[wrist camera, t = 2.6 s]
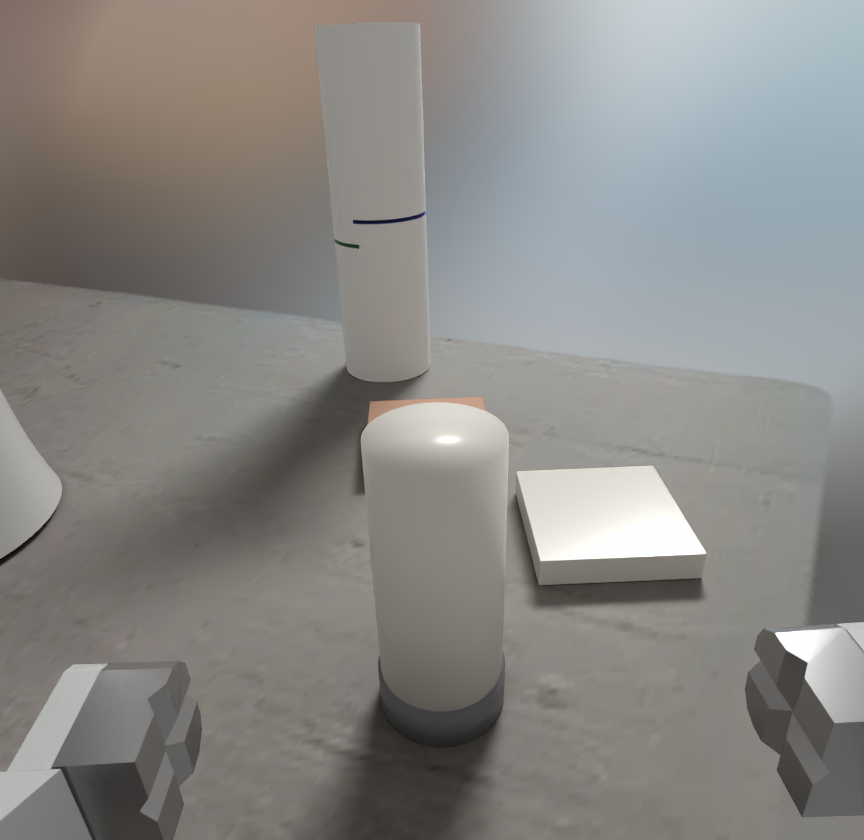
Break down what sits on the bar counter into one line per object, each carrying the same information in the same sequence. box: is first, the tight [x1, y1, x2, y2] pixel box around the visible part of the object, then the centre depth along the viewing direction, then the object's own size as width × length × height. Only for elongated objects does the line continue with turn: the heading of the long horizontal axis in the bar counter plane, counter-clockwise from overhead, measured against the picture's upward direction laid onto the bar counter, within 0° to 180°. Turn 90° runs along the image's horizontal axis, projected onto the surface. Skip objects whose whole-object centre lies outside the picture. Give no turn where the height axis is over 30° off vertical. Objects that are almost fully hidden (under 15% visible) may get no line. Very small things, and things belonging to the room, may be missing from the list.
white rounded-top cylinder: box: [361, 402, 509, 746], centre depth 25 cm, size 5×5×12 cm
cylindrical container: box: [314, 22, 431, 382], centre depth 52 cm, size 7×7×25 cm
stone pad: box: [516, 466, 707, 585], centre depth 36 cm, size 8×8×2 cm
